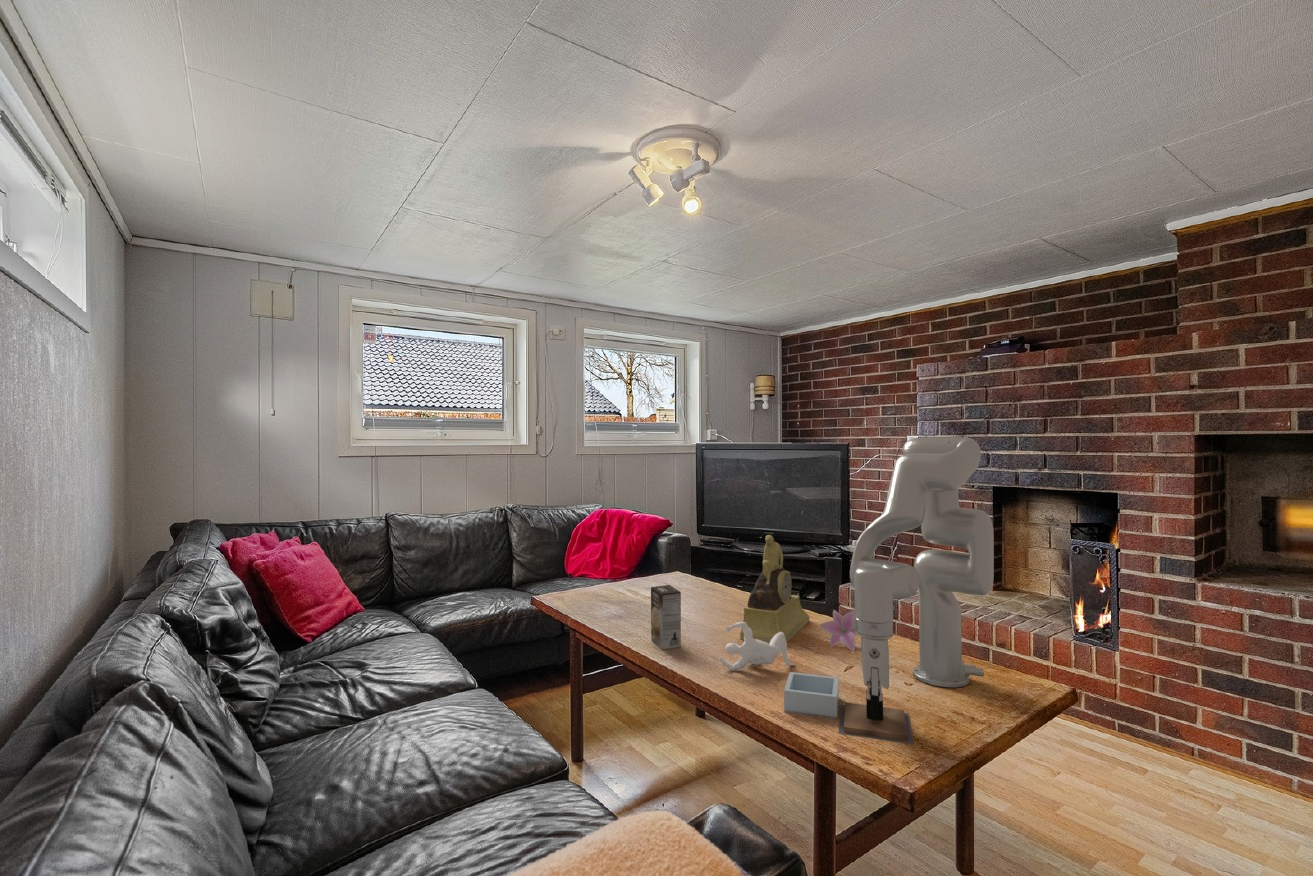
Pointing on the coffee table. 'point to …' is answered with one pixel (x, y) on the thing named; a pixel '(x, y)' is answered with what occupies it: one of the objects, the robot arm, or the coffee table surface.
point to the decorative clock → (773, 600)
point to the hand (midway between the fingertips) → (874, 714)
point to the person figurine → (755, 649)
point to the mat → (909, 731)
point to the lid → (875, 722)
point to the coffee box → (666, 616)
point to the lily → (841, 629)
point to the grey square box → (812, 695)
